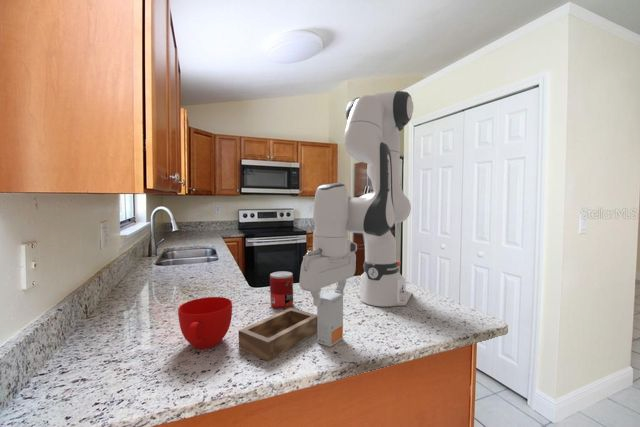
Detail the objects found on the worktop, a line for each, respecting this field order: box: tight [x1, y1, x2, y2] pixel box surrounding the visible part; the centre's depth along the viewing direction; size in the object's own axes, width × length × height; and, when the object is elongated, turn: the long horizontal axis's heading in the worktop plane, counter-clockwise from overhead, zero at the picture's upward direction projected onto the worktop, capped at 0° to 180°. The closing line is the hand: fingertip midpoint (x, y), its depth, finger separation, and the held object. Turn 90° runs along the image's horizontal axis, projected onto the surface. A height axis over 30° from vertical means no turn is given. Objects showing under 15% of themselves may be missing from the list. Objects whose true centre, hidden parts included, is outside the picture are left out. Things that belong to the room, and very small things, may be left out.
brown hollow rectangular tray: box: [237, 307, 317, 363], centre depth 79 cm, size 19×10×4 cm, turn 143°
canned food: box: [269, 270, 294, 310], centre depth 104 cm, size 8×8×11 cm
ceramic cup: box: [177, 296, 233, 350], centre depth 75 cm, size 13×17×10 cm
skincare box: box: [316, 291, 344, 348], centre depth 77 cm, size 6×4×12 cm
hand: (329, 300), depth 77 cm, fingers open, 8 cm apart
